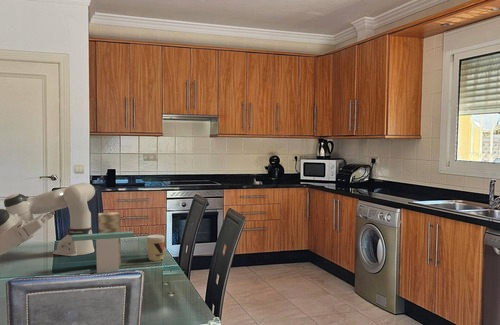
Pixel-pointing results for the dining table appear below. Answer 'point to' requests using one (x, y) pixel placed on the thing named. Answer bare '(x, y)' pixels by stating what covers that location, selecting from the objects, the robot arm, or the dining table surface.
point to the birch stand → (110, 225)
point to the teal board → (102, 236)
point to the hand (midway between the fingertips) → (53, 213)
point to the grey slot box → (107, 255)
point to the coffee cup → (155, 247)
